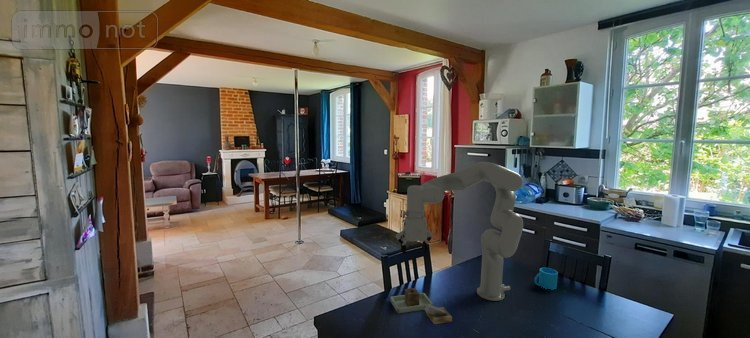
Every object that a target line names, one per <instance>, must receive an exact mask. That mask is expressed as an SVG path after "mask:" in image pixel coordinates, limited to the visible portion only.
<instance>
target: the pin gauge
mask: <svg viewBox="0 0 750 338" xmlns="http://www.w3.org/2000/svg"><path fill="white" fill-rule="evenodd" d="M424 311H425V313H426V312H427V313H429V314H432V315H435V316H436V317H441V316H445V315H446V312H445V311H444V310H443V309H440V308H438V307H437V306H435V305H434V306H432V305H430V304H427V305H426V307H425V310H424Z"/></svg>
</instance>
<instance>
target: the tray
mask: <svg viewBox="0 0 750 338" xmlns="http://www.w3.org/2000/svg"><path fill="white" fill-rule="evenodd" d="M419 293H420V296H419V305H417V306H409V307H408V306H407V305H406V303H405V294H402V295H401V294H400V295H395V296H394V295H393V296H392V295H391V296H389V297H390V298H389V301H390V303H391V304H392V306H393V309H394V311H396V313H397V314H404V313H411V312H419V311H425V307H426V305H427V304H430V305H432V306H435V305H434V303H433V302H432V300H431V299H430V298H429V296H427V294H426V293H425V292H419Z"/></svg>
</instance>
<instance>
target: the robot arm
mask: <svg viewBox="0 0 750 338" xmlns="http://www.w3.org/2000/svg"><path fill="white" fill-rule="evenodd" d="M481 182H486V183H490V184H491V185H492V186H493V188H494V190H495V194H496V195H495V200H494V204H493V208H492V210H491V214H490V223H491V225H492V226H493V227H495V228H497V229H499V230H501V231H499V230H497V229H492V228H489V229H486V230H484V232H483V233H482V234H481V237H480V243H481V244H480V245H481V251H482V252H481V253H482V254H481V273H480V286H479V287H477V289H476V294H477V295H478V296H479V297H480V298H482V299H484V300H488V301H492V302H493V301H494V302H499V301H503V300H504V299H505V295H506V294H505V291H510V290H511V286H510V285H505V284H504V283H503V274H504V273H503V272H504V271H503V270H504V258H510V257H513V256H514V255H515V253H516V251H517V250H518V246H519V243H520V240H521V237H522V233H523V231H524V220H523V218H522V216H521V215H520V214H518V213H516V212H514V209H515V205H516V197H517V196H516V192H517V191H519V190H520V189H521V188H522V187H523V183H524V180H523V177H522V175H520V173H518V172H516V171H513V170H512V169H509V168H507V167H505V166H501V165H499V164H497V163H494V162H489V161H479V162H478V161H477V162H476V163H474V164H472V165H471V164H470V165H469V166H466V167H465V168H463V169H460V170H458V171H456V172H452V173H448V174H445V175H440V176H436V177H434V178H432V179H430V180H427V181H426V182H424V183H422V184H421V185H409V186H407V192H406V193H407V194H406V196H407V197H406V211H403V216H404V219H403V226H402V230H401V231H399V232H398V233H396V234H395V238H396V240H397V241H398V243H400V251H401V253H402V254H403V255H406V254H407V245H406V244H407V242H421V241H422V243H421V244H422V246H421V249H422V251H423V252H424V253H427V252H428V244H429V242H431V240H432V238H433V236H434V232H433V231H431V230H430V229H429V230H428V222H427V218H426V216H425V203H426V204H439V203H441V202H442V201H443V200H444V198H445V192H447V191H465V190H466V189H468V188H471V187H473V186H475V185H477V184H479V183H481ZM401 237H402V239H401Z"/></svg>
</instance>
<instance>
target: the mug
mask: <svg viewBox="0 0 750 338" xmlns="http://www.w3.org/2000/svg"><path fill="white" fill-rule="evenodd" d="M558 275H559V272H558V271H557V270H555V269H553V268H550V267H540V268H539V273H537V274H536V275H535V277H534V283H535V285H536V286H538V287H540V286H541V287H540V288H542V287H543V288H542V289H544V288H545V290H547V289H551V290H550V291H555V290H554V289H556V290H557V287H558ZM537 281H538V282H537Z"/></svg>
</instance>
